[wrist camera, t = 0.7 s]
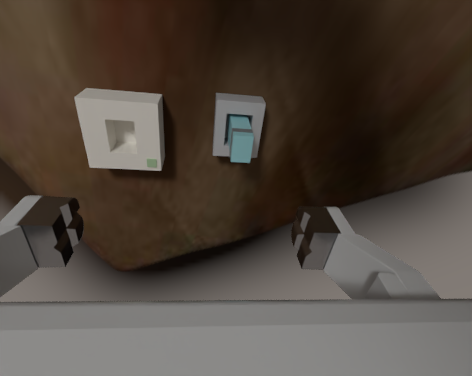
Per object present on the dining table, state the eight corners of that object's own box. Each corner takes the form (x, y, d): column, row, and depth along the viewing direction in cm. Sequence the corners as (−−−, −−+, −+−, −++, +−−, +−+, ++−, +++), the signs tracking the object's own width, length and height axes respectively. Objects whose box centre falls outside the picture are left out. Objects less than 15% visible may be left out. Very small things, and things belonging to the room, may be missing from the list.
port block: (86, 88, 45) (73, 97, 41) (162, 94, 46) (157, 104, 42) (99, 153, 52) (89, 168, 47) (164, 157, 53) (161, 171, 49)
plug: (229, 111, 48) (233, 134, 40) (246, 112, 49) (254, 136, 40) (226, 135, 51) (230, 162, 43) (243, 136, 51) (250, 163, 43)
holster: (216, 92, 47) (216, 99, 44) (262, 96, 48) (265, 103, 45) (212, 146, 53) (212, 155, 49) (253, 148, 54) (256, 158, 50)
